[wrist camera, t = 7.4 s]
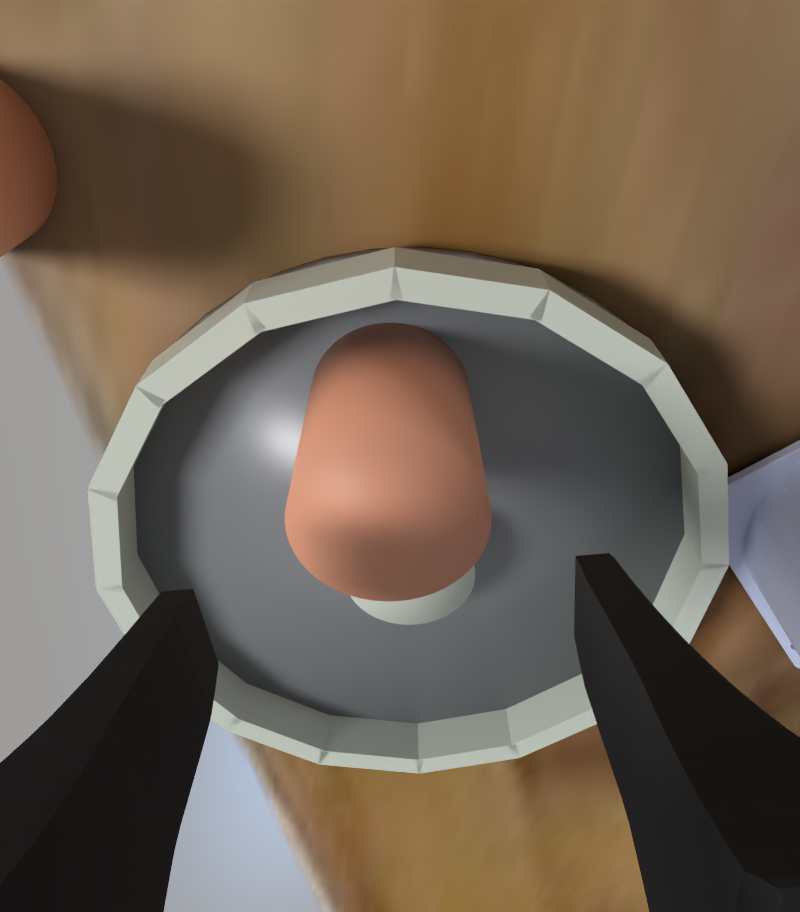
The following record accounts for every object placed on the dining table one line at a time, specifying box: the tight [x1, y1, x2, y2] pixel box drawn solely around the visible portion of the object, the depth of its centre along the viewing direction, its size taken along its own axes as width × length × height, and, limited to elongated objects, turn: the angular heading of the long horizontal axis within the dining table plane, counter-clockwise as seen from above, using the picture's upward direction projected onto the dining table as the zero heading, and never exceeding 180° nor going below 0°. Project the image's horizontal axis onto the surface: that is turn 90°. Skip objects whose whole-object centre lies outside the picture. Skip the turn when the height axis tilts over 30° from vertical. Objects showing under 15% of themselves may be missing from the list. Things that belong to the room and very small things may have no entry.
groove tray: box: [88, 247, 729, 774], centre depth 24 cm, size 19×19×2 cm
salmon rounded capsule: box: [285, 322, 492, 601], centre depth 19 cm, size 4×4×6 cm
